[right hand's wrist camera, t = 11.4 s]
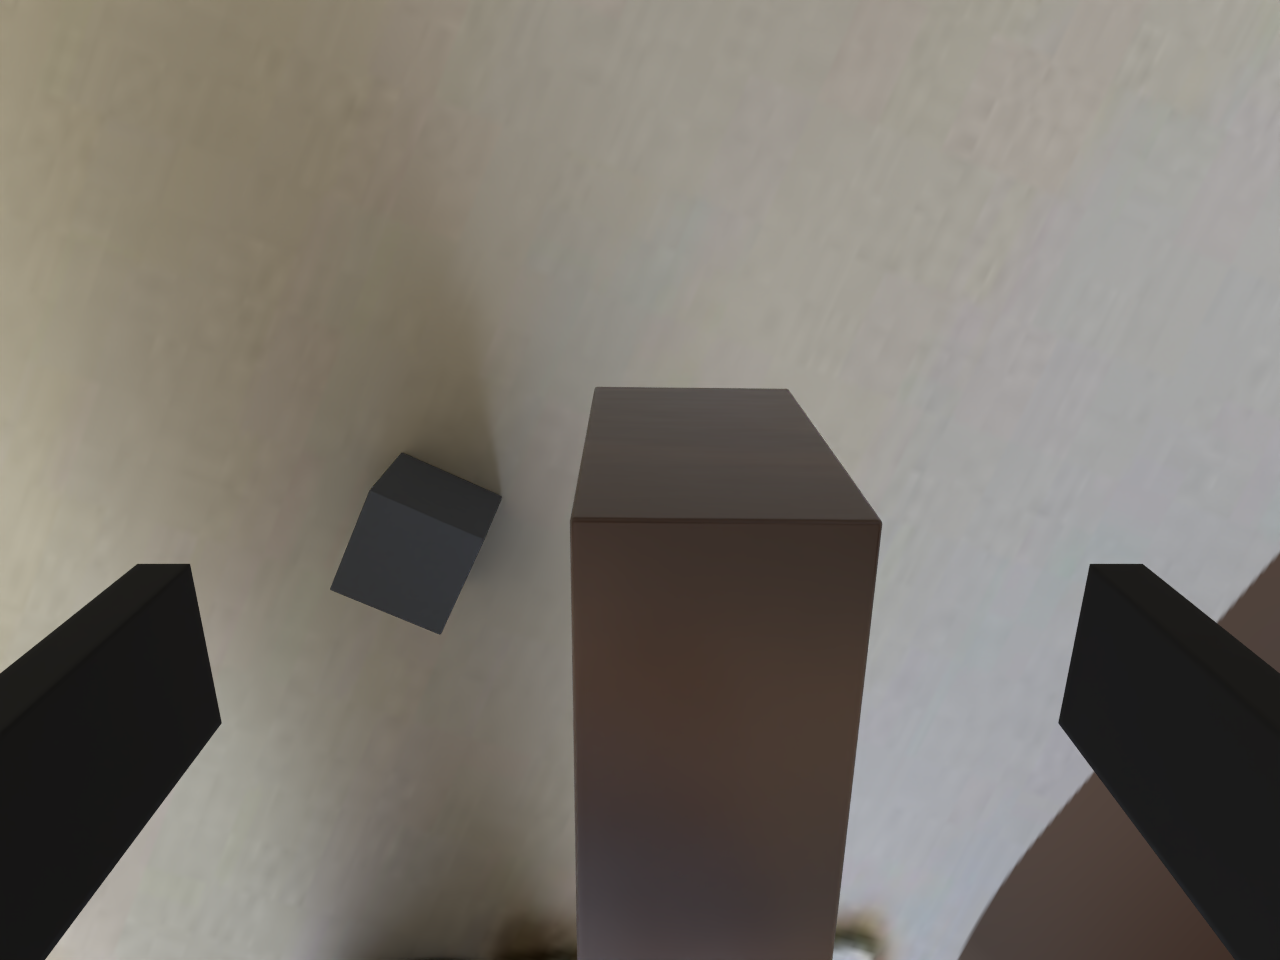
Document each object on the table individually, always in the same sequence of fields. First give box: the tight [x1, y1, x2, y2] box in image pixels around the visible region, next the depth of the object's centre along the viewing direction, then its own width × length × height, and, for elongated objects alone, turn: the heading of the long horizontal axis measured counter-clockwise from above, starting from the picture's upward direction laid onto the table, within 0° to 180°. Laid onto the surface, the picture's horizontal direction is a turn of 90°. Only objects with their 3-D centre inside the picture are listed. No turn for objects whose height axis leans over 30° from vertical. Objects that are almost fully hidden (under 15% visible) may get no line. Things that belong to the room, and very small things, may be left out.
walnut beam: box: [570, 387, 882, 960], centre depth 22 cm, size 24×5×9 cm, turn 179°
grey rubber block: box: [330, 453, 502, 634], centre depth 38 cm, size 5×5×5 cm
